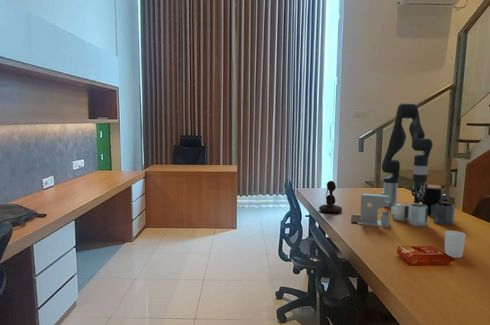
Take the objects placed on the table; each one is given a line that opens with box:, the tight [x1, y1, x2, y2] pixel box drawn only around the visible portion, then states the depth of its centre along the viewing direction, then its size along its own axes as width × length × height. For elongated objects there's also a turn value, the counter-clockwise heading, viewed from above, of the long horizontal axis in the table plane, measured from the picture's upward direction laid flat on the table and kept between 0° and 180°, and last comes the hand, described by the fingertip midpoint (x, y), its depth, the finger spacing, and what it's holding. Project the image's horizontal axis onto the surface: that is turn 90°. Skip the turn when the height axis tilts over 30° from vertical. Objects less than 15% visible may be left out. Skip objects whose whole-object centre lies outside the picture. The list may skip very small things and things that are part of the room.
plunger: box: [416, 194, 423, 207], centre depth 204 cm, size 6×6×16 cm
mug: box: [390, 202, 409, 222], centre depth 216 cm, size 10×8×9 cm
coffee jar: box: [421, 184, 443, 216], centre depth 229 cm, size 11×11×18 cm
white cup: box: [444, 230, 467, 259], centre depth 156 cm, size 8×8×10 cm
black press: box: [430, 193, 456, 226], centre depth 208 cm, size 12×9×17 cm
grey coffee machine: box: [357, 193, 392, 228], centre depth 205 cm, size 17×10×18 cm, turn 69°
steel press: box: [404, 203, 428, 227], centre depth 206 cm, size 12×9×11 cm
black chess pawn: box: [318, 180, 343, 215], centre depth 233 cm, size 15×15×20 cm
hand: (418, 202), depth 204 cm, fingers closed on plunger, 4 cm apart
